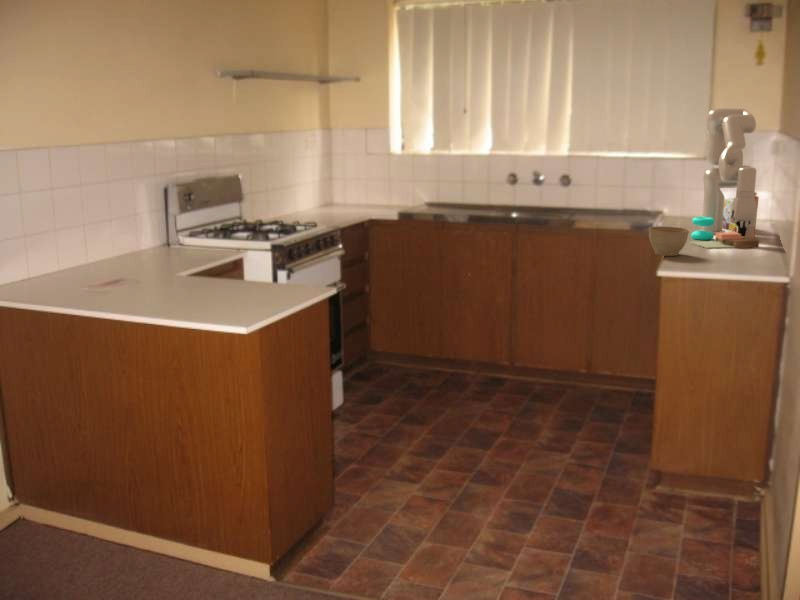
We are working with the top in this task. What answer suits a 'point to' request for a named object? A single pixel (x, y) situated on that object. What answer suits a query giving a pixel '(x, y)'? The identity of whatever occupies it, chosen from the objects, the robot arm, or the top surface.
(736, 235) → the coral block
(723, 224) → the snack box
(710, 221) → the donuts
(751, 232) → the cracker box
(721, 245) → the sage mat
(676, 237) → the planter bowl
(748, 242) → the board
